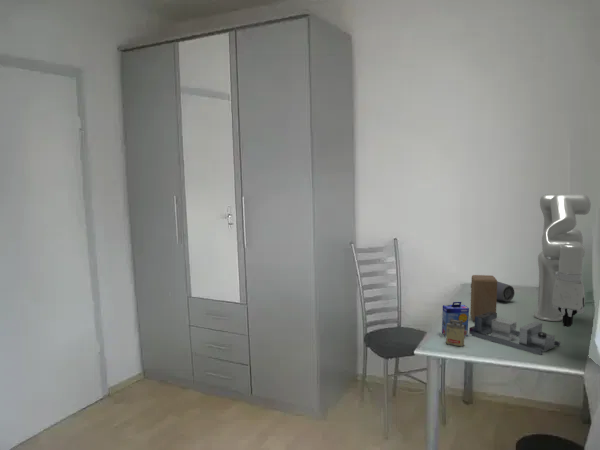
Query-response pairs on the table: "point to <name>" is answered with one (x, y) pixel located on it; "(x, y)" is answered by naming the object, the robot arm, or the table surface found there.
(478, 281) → the block
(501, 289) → the bluetooth speaker
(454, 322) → the lighter
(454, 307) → the ink cartridge box
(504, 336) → the steel block
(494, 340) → the frame
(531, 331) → the sliding jaw
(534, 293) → the table surface
